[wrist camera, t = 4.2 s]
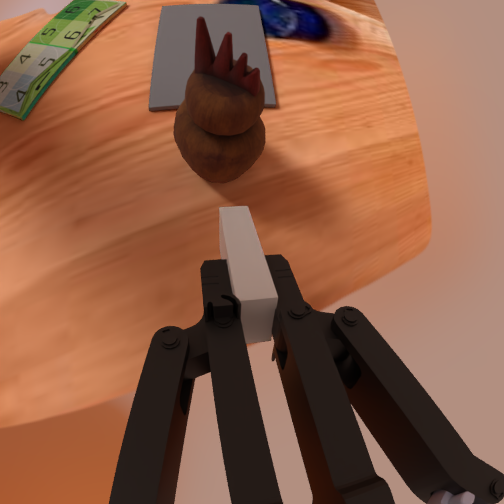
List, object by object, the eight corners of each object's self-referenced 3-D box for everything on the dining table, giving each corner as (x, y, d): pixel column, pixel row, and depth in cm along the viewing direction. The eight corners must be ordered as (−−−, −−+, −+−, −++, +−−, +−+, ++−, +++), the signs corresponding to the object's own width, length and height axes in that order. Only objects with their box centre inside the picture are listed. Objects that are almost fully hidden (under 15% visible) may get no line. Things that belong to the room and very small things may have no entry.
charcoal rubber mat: (274, 107, 27) (276, 104, 26) (149, 111, 25) (148, 107, 24) (257, 8, 29) (258, 5, 28) (162, 9, 27) (162, 6, 26)
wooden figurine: (165, 151, 25) (141, 22, 10) (215, 116, 26) (235, -16, 11) (215, 206, 25) (237, 102, 10) (265, 166, 26) (330, 51, 11)
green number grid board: (127, 8, 27) (78, 2, 26) (126, 0, 25) (76, -4, 24) (26, 123, 23) (-15, 106, 22) (20, 117, 22) (-20, 101, 21)
